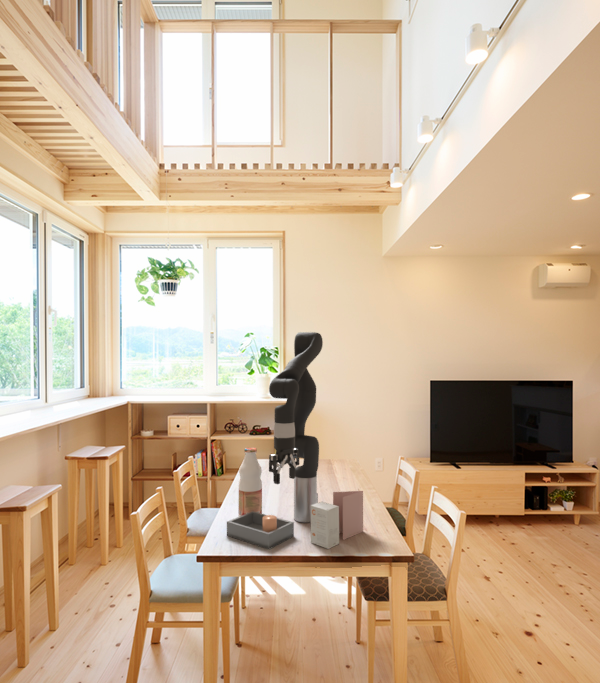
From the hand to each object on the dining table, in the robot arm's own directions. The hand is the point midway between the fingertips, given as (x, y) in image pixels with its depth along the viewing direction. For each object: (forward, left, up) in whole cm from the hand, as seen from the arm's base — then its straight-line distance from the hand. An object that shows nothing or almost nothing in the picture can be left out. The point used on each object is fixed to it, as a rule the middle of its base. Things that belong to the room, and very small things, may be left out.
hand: (284, 481), depth 160 cm
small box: (-7, +12, -21) cm, 26 cm away
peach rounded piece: (+3, -5, -20) cm, 21 cm away
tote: (+2, -10, -21) cm, 23 cm away
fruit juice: (-9, -25, -21) cm, 34 cm away
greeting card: (-18, +16, -21) cm, 32 cm away
